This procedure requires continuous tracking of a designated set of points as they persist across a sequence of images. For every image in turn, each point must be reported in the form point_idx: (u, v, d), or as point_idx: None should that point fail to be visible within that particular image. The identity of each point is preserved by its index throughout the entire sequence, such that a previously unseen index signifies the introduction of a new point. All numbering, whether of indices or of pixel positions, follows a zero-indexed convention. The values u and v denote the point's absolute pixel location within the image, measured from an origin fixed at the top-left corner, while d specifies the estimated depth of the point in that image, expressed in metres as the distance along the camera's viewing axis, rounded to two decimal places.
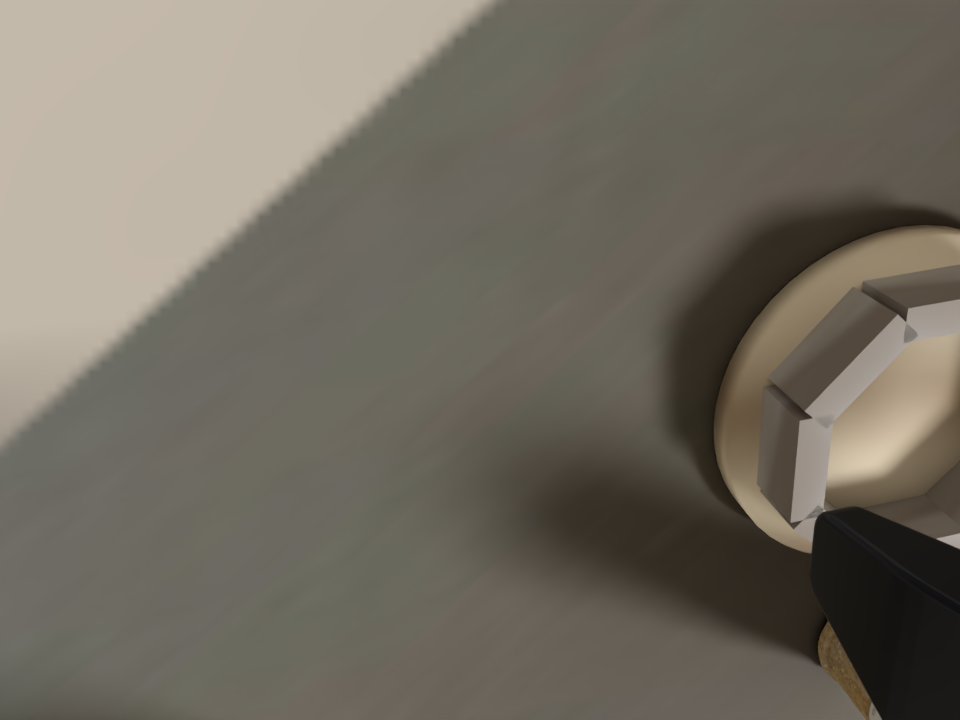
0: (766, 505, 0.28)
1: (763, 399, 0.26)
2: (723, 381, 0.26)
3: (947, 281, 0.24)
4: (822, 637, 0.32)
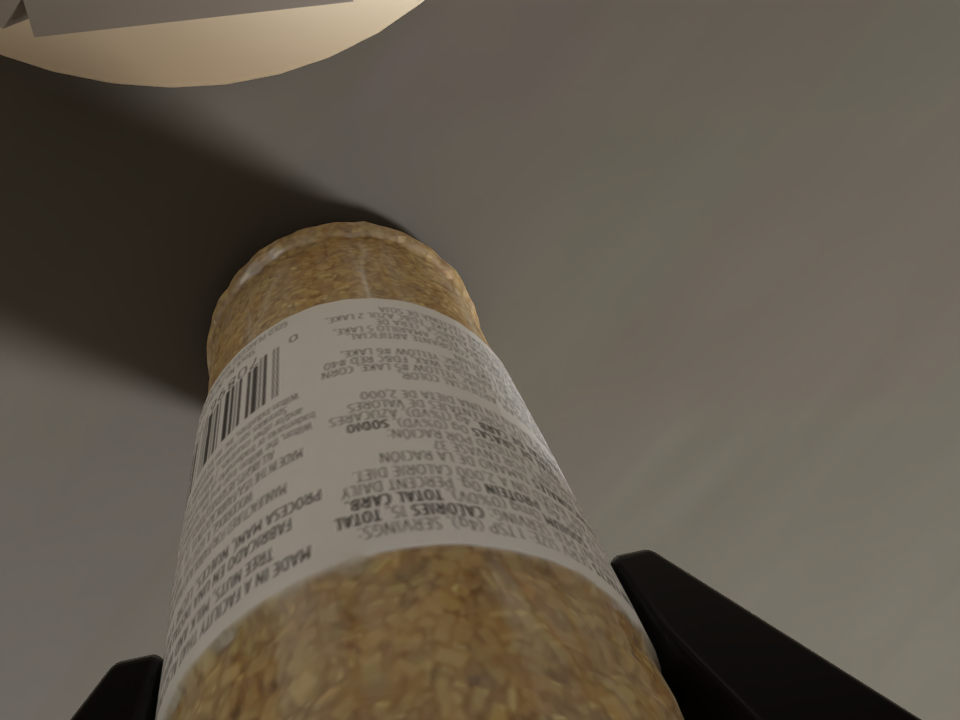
0: None
1: None
2: None
3: None
4: None
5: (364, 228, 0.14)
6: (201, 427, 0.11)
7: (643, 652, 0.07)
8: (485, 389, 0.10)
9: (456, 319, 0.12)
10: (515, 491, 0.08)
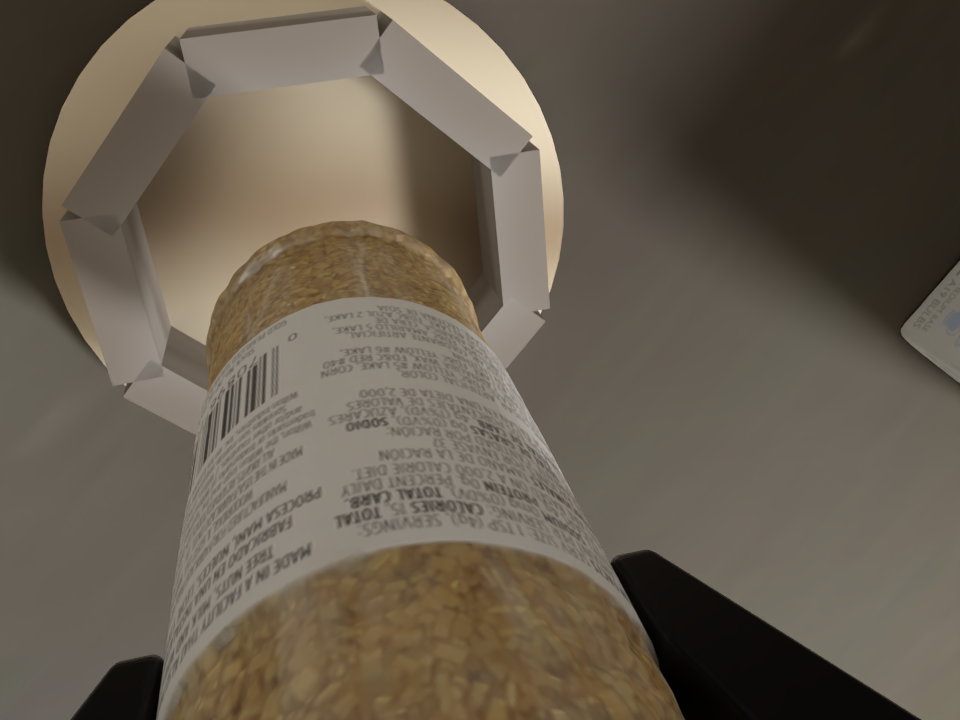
0: None
1: None
2: None
3: (292, 19, 0.16)
4: None
5: (363, 227, 0.14)
6: (201, 426, 0.11)
7: (640, 648, 0.07)
8: (483, 387, 0.10)
9: (455, 317, 0.12)
10: (514, 488, 0.08)
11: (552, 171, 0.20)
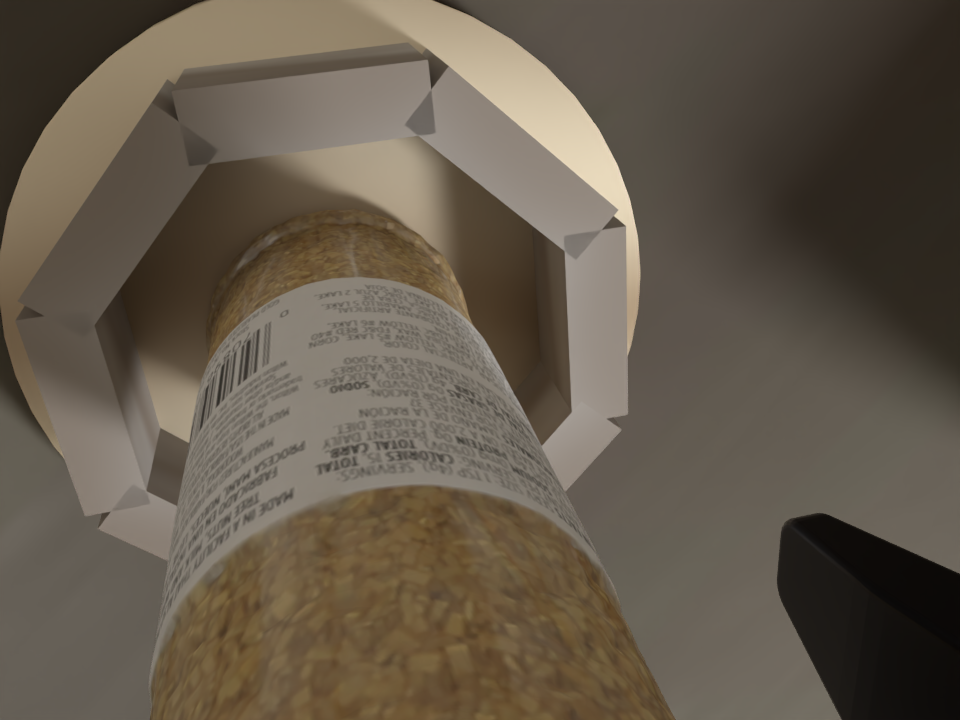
0: None
1: None
2: None
3: (317, 61, 0.13)
4: None
5: (355, 215, 0.14)
6: (199, 399, 0.11)
7: (601, 587, 0.08)
8: (463, 358, 0.10)
9: (440, 298, 0.12)
10: (484, 443, 0.08)
11: (628, 241, 0.16)
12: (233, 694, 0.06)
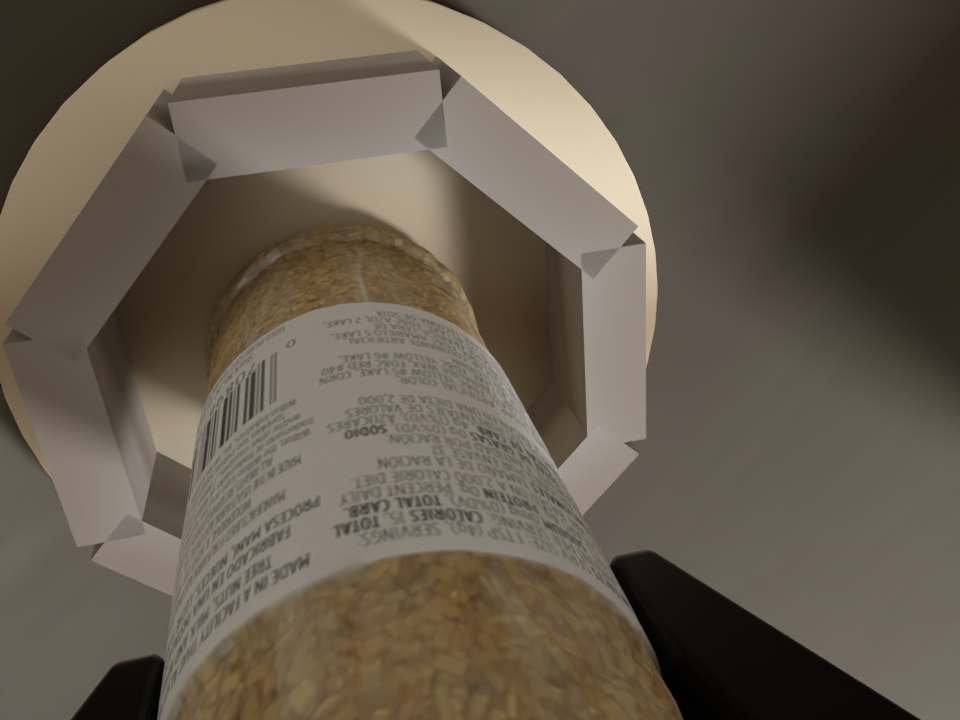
0: None
1: None
2: None
3: (322, 70, 0.12)
4: None
5: (361, 232, 0.14)
6: (200, 433, 0.11)
7: (644, 655, 0.07)
8: (483, 393, 0.10)
9: (454, 322, 0.12)
10: (513, 495, 0.08)
11: (645, 256, 0.15)
12: None
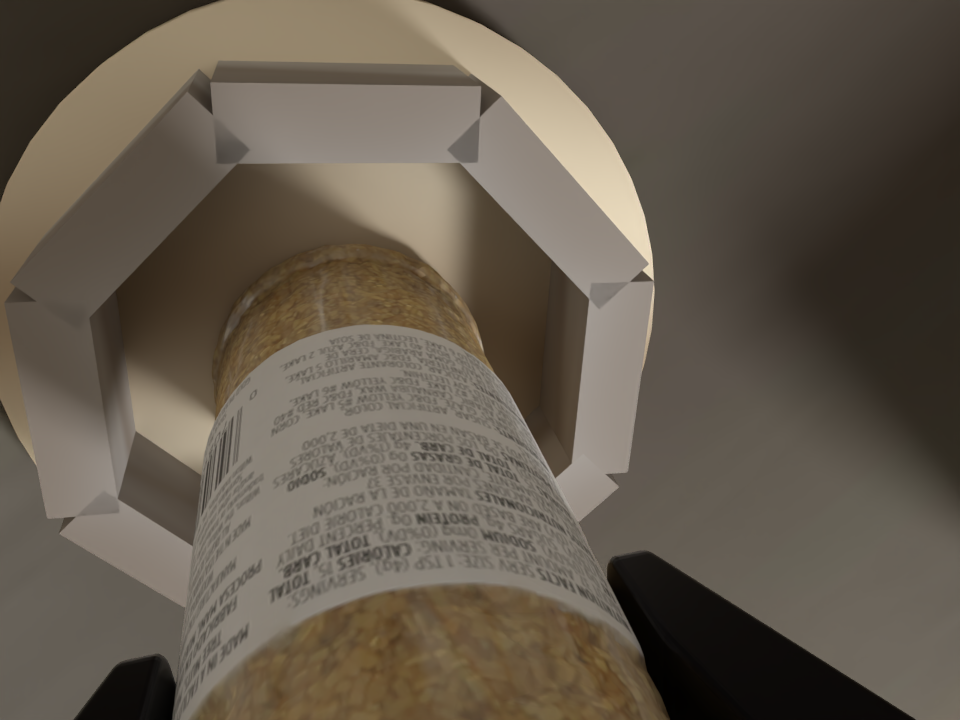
0: None
1: None
2: None
3: (361, 72, 0.12)
4: None
5: (324, 253, 0.14)
6: None
7: (603, 647, 0.07)
8: (436, 399, 0.10)
9: (418, 325, 0.12)
10: (452, 512, 0.08)
11: None
12: None
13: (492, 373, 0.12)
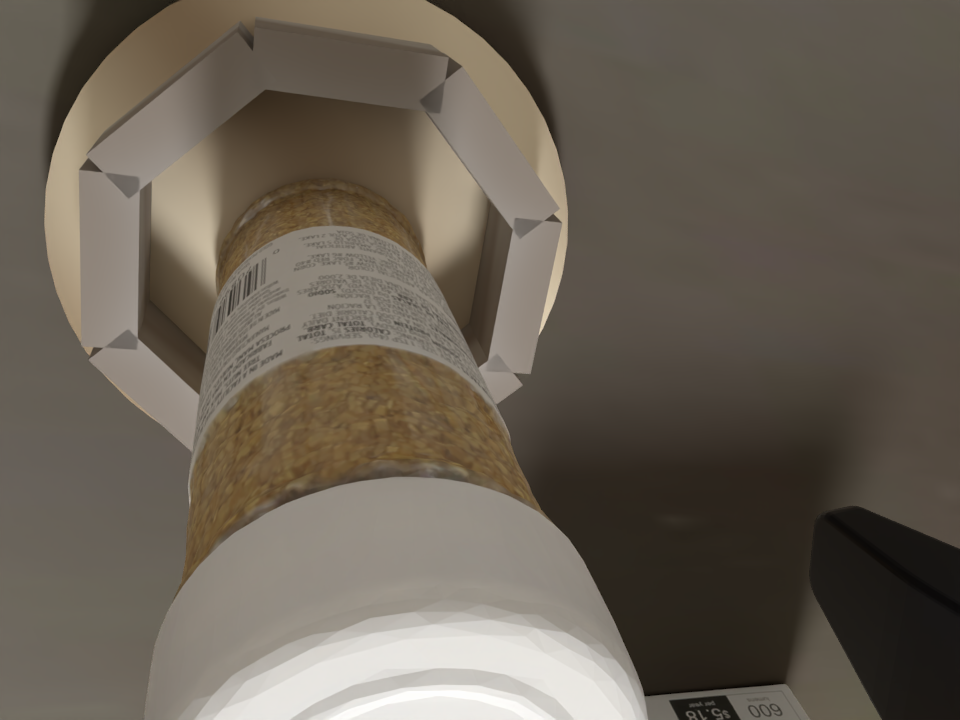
0: None
1: (223, 33, 0.17)
2: None
3: None
4: (216, 279, 0.18)
5: (332, 183, 0.18)
6: (213, 317, 0.15)
7: (490, 416, 0.11)
8: (408, 279, 0.14)
9: (396, 242, 0.16)
10: (414, 326, 0.12)
11: None
12: (246, 454, 0.10)
13: (439, 289, 0.16)
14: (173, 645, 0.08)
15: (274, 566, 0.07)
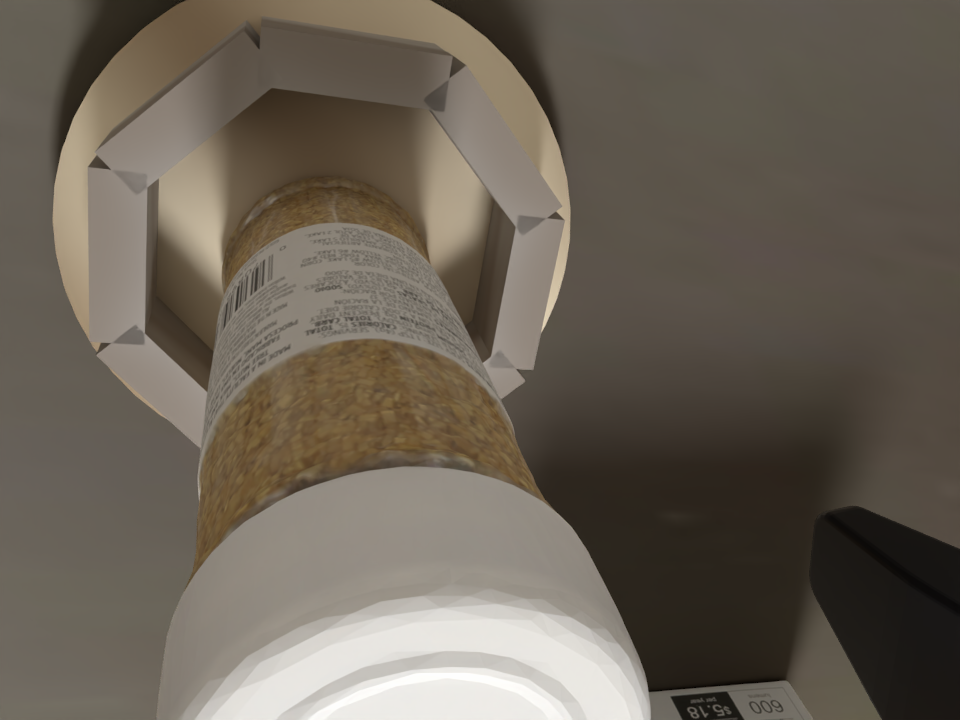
0: None
1: (230, 32, 0.17)
2: None
3: None
4: (222, 275, 0.19)
5: (337, 180, 0.18)
6: (220, 313, 0.15)
7: (495, 410, 0.12)
8: (412, 275, 0.14)
9: (401, 239, 0.16)
10: (420, 321, 0.12)
11: None
12: (256, 445, 0.10)
13: None
14: (187, 630, 0.08)
15: (287, 552, 0.07)
